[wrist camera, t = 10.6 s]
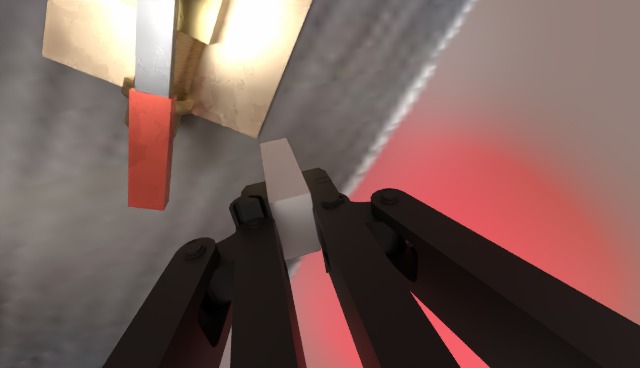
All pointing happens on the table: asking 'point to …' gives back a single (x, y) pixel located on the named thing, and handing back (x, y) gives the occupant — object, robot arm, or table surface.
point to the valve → (187, 52)
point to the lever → (152, 104)
